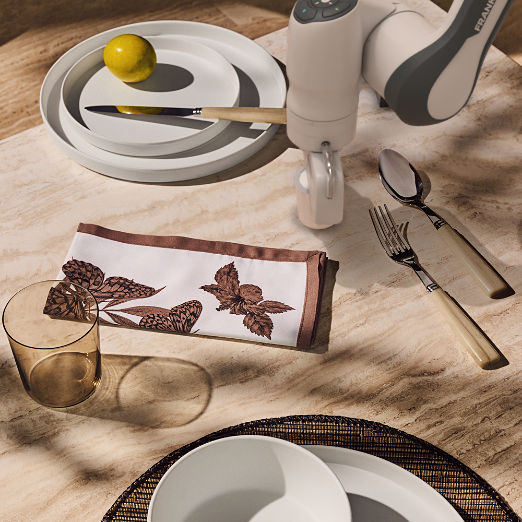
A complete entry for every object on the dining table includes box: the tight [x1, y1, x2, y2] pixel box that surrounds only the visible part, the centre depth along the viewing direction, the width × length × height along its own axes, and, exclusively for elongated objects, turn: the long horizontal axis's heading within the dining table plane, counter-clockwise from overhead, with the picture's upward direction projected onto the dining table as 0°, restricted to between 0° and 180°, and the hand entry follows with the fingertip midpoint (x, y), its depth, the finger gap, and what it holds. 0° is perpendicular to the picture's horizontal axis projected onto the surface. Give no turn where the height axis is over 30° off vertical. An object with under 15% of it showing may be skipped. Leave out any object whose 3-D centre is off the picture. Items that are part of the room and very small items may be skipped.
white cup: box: [293, 165, 346, 230], centre depth 95 cm, size 7×7×7 cm
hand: (318, 201), depth 96 cm, fingers open, 5 cm apart
